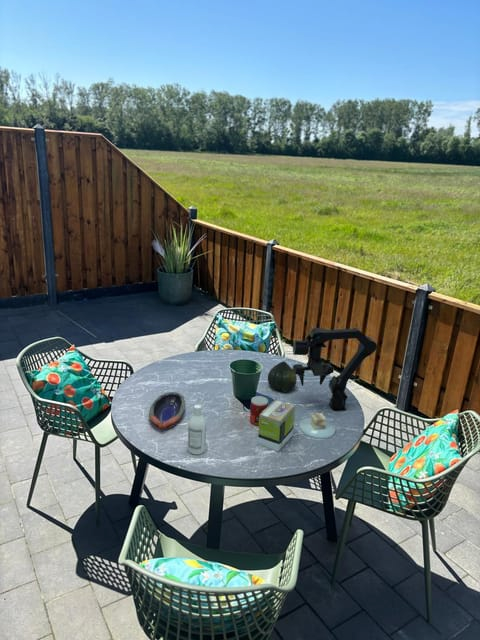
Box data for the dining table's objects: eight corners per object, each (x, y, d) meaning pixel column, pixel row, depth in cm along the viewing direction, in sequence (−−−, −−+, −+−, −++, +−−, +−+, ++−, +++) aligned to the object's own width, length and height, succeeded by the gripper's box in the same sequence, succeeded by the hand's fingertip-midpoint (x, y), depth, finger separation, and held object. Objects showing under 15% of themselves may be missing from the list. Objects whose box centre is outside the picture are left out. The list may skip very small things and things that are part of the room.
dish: (190, 400, 223) (190, 391, 222) (177, 435, 194) (177, 425, 193) (158, 398, 224) (158, 388, 222) (141, 432, 195) (141, 422, 193)
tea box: (272, 428, 203) (275, 398, 198) (293, 435, 198) (296, 405, 194) (256, 444, 191) (259, 413, 186) (278, 452, 186) (281, 420, 181)
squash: (278, 389, 227) (293, 363, 230) (258, 378, 238) (273, 354, 241) (291, 400, 236) (306, 376, 239) (272, 390, 247) (286, 366, 250)
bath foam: (196, 442, 189) (197, 400, 183) (208, 449, 185) (210, 406, 179) (184, 450, 184) (185, 406, 178) (196, 457, 180) (197, 412, 174)
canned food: (255, 427, 202) (256, 405, 199) (246, 419, 209) (247, 397, 206) (269, 424, 206) (271, 402, 202) (261, 415, 213) (262, 394, 209)
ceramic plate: (327, 418, 213) (327, 416, 213) (340, 437, 199) (341, 435, 198) (294, 420, 210) (294, 418, 210) (306, 440, 195) (306, 437, 195)
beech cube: (320, 423, 207) (321, 413, 205) (324, 429, 202) (326, 419, 201) (310, 423, 206) (311, 414, 204) (314, 429, 201) (315, 419, 199)
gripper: (301, 362, 204) (298, 393, 209) (340, 361, 208) (336, 391, 213) (293, 353, 215) (290, 382, 220) (331, 351, 218) (327, 381, 223)
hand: (311, 385), depth 219 cm, fingers open, 9 cm apart
